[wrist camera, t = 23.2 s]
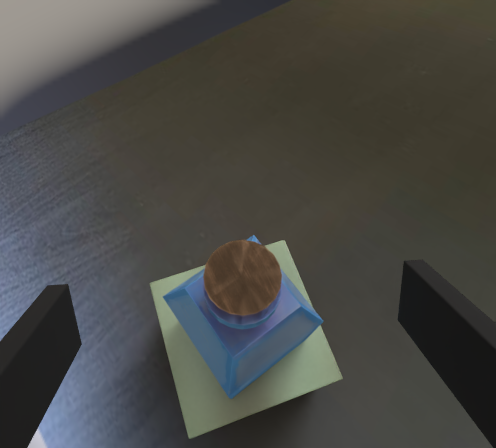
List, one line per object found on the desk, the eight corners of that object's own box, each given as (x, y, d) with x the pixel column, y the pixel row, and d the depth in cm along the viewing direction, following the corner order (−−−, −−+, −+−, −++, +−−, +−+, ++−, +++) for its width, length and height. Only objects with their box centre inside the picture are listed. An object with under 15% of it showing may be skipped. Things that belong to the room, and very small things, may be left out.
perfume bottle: (178, 319, 27) (136, 260, 16) (251, 268, 28) (257, 183, 18) (231, 399, 25) (223, 393, 14) (305, 339, 26) (351, 292, 15)
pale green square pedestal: (200, 431, 31) (188, 439, 24) (168, 308, 35) (149, 282, 28) (320, 384, 33) (343, 378, 25) (275, 272, 37) (284, 239, 29)
